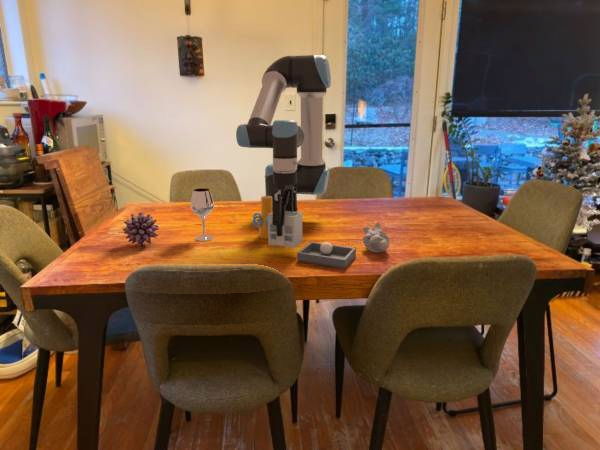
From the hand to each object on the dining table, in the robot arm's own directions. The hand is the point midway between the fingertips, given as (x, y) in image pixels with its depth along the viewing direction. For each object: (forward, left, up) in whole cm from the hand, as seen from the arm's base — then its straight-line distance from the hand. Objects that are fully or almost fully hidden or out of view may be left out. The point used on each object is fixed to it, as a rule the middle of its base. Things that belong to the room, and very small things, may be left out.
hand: (285, 241), depth 140 cm
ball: (+13, +4, -2) cm, 13 cm away
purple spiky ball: (-49, -12, -5) cm, 51 cm away
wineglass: (-34, +3, -5) cm, 34 cm away
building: (0, 0, 0) cm, 0 cm away
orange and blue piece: (-14, +14, -5) cm, 20 cm away
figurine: (+26, +15, -5) cm, 30 cm away
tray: (+14, +1, -4) cm, 15 cm away
